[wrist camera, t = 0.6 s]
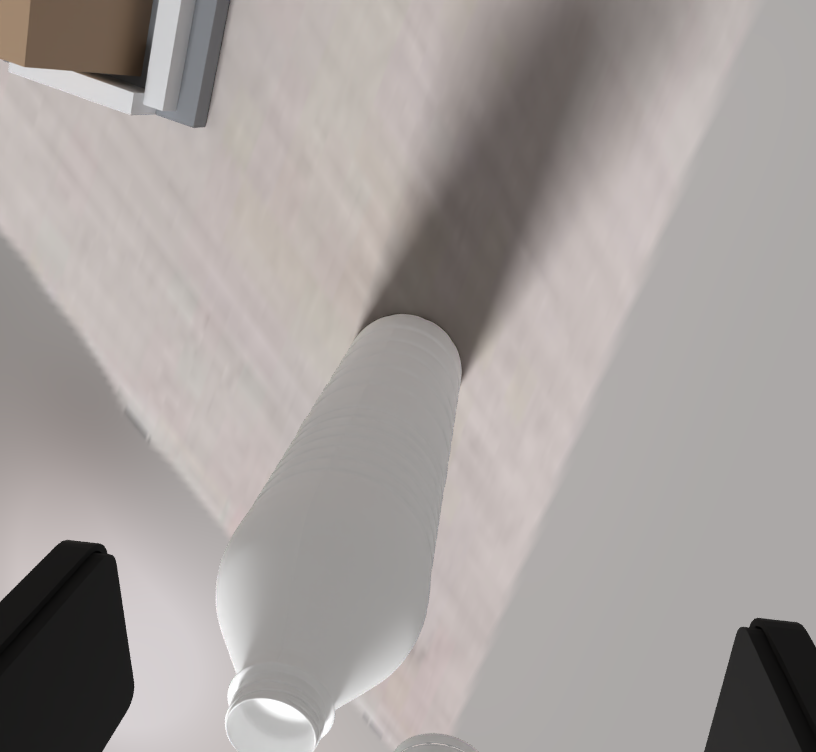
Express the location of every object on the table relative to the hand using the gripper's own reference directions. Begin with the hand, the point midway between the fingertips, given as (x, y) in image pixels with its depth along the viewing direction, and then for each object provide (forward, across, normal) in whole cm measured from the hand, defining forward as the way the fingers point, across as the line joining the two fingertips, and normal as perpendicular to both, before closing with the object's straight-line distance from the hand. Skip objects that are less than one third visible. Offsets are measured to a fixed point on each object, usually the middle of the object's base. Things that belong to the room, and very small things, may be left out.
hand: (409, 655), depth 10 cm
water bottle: (+29, +3, +7) cm, 30 cm away
